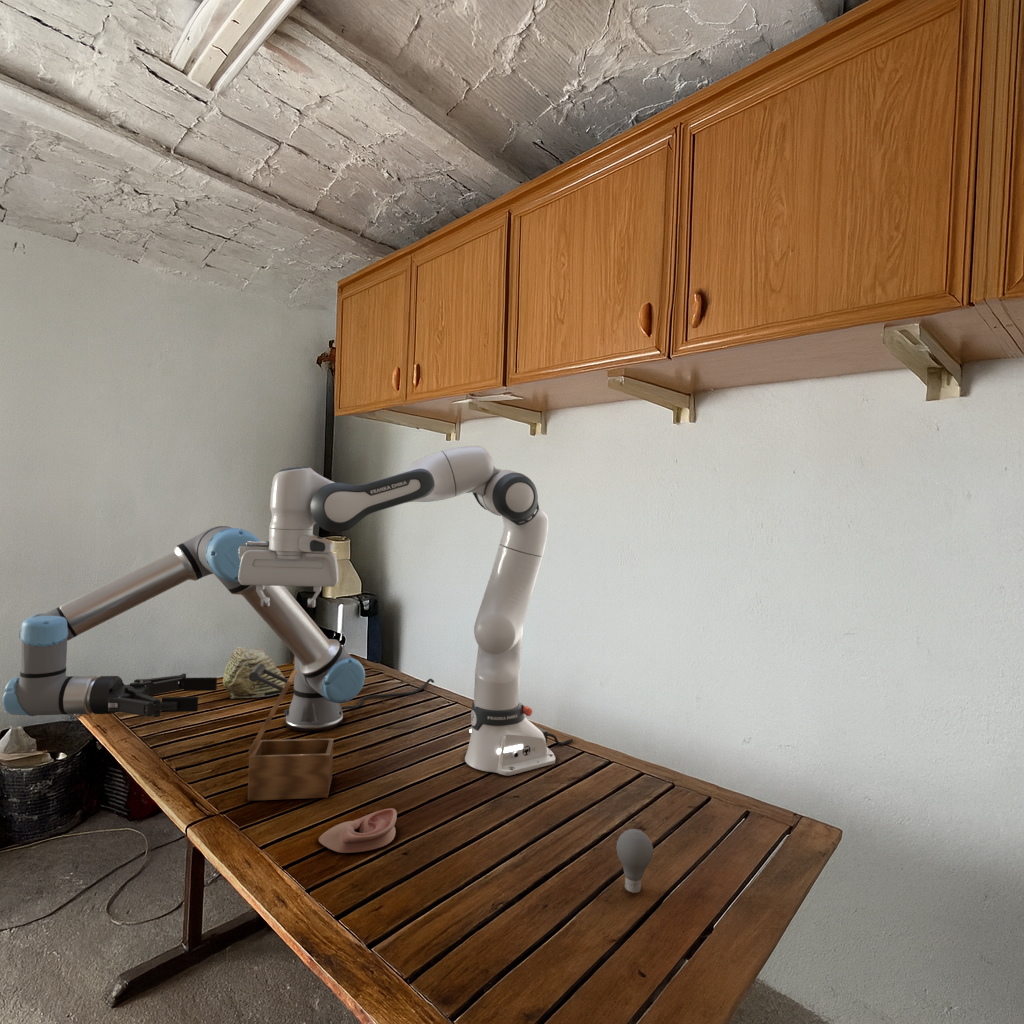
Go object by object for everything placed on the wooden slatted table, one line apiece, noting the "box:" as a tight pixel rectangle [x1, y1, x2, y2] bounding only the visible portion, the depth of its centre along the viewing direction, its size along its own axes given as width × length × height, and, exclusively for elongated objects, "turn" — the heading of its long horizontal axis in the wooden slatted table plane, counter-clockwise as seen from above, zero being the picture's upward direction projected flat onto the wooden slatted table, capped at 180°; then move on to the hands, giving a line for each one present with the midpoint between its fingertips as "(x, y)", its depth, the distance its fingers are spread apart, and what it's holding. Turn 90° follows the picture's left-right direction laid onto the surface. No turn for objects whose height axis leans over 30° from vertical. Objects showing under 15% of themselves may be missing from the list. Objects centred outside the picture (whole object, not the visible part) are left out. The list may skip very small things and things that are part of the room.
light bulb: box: [615, 828, 654, 894], centre depth 106 cm, size 6×6×10 cm
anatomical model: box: [318, 807, 398, 854], centre depth 118 cm, size 13×4×12 cm
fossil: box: [222, 646, 286, 699], centre depth 198 cm, size 9×18×15 cm, turn 132°
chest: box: [247, 737, 334, 802], centre depth 137 cm, size 16×9×9 cm, turn 101°
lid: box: [246, 664, 298, 756], centre depth 135 cm, size 17×9×8 cm
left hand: (207, 693), depth 133 cm, fingers open, 13 cm apart
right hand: (288, 606), depth 135 cm, fingers open, 8 cm apart
